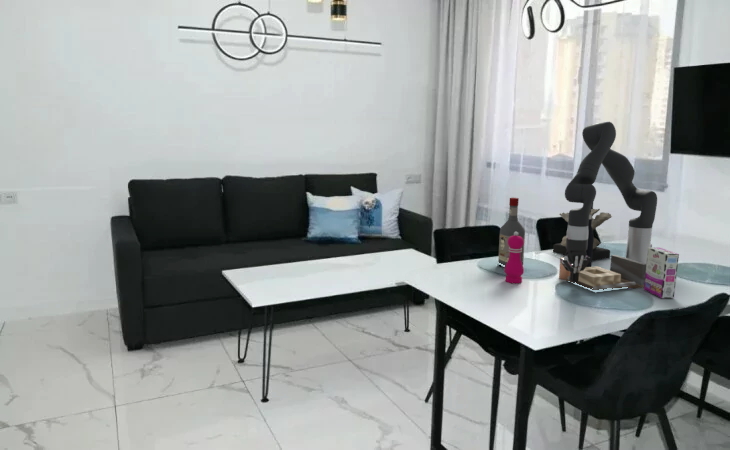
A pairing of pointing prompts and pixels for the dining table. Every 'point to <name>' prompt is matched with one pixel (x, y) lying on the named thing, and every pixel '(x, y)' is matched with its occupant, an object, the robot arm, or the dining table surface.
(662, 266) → the candy bar box
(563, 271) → the dowel
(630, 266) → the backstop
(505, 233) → the liquor
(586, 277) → the socket block
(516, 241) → the pepper mill
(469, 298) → the dining table surface
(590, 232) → the wine bottle
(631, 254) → the robot arm
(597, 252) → the coral
